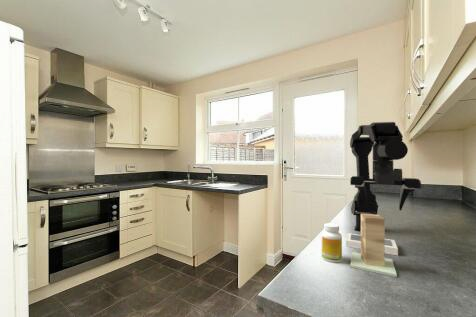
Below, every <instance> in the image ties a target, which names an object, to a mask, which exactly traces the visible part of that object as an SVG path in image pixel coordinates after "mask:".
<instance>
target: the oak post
mask: <svg viewBox="0 0 476 317" xmlns="http://www.w3.org/2000/svg"><path fill="white" fill-rule="evenodd" d="M385 220H386V219H385V218H384V217H383V216H381V215H380V214H377V215H374V214H361V231H360V235H361V249H360V254H361V259H362V260H363V262H364V263H365V265H373V266H382V267H385V258H386V257H385V254H386V253H385V239H386V237H385V236H386V235H385V234H386V233H385V232H386V231H385V227H386V224H385Z"/></svg>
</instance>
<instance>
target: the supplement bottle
mask: <svg viewBox="0 0 476 317" xmlns="http://www.w3.org/2000/svg"><path fill="white" fill-rule="evenodd" d="M323 225H324V226H323V231H322V232H321V258H322V259H323V260H324V261H326V262H329V263H340V262H342V260H343V250H342V248H343V246H342V245H343V236H342V234H341V233H340V232H339V231H340V226H339V224H337V223H332V222H330V223H328V222H326V223H324V224H323Z"/></svg>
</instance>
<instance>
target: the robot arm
mask: <svg viewBox="0 0 476 317" xmlns="http://www.w3.org/2000/svg"><path fill="white" fill-rule="evenodd" d="M403 136H404V135H403V134H402V132H401V131H400V128H399V127H398V125H396V122H395V121H382V122H381V121H380V122H377V121H376V122H374V121H373V122H371V123H370V124H361V125H358V128H357V130H356V131H355V132H353V133H352V135H351V137H350V141H349V147H350V148H351V153H352V155H353V156H354V157H355V161H356V175H352V176H351V177H350V180H349V181H350V182H349V183H350V184H349V185H350V186H354V189H355V188H356V189H357V191H356V193H355V195H354V197H353V200H352V204H351V206H350V207H351V208H350V210H351V211H350V212H351V215H354V216H355V225H354V231H359V232H361V214H374V215H378V210H379V209H378V208H379V204H378V202H377V196H376V195H375V194H374V193H373V192H372V190H371V185H382V186H384V185H385V186H401V187H400V190H399V191H400V192H399V200H398V209H399V211H402V209H403V208H404V204H405V202H406V200H407V198H408V196H409V195H410V193H411V192H416V189H422V182H421V180H420V179H419V178H415V177H414V178H413V177H403V169H402V168H394V161H398V160H402V159H404V158H405V157H406V156H407V155H408V151H409V148H408V146H407V144H406V143H405V142H404V141H403V138H404V137H403ZM371 152H372V178H370V165H369V155H370V154H371Z"/></svg>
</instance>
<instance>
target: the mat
mask: <svg viewBox="0 0 476 317" xmlns="http://www.w3.org/2000/svg"><path fill="white" fill-rule="evenodd" d="M350 268H354V269H356V270H357V269H358V270H362V271H365V272H366V271H367V272H372V273H376V274H381V275H385V276H390V277H394V278H398V277H397V275H398V274H397V270H396V267H395V264H394V261H393V259H392V258H387V257H385V267H382V266H373V265H365V263H364V262H363V260H362V259H361V252H360V253H359V252H354V251H352V252H351V257H350Z"/></svg>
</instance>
